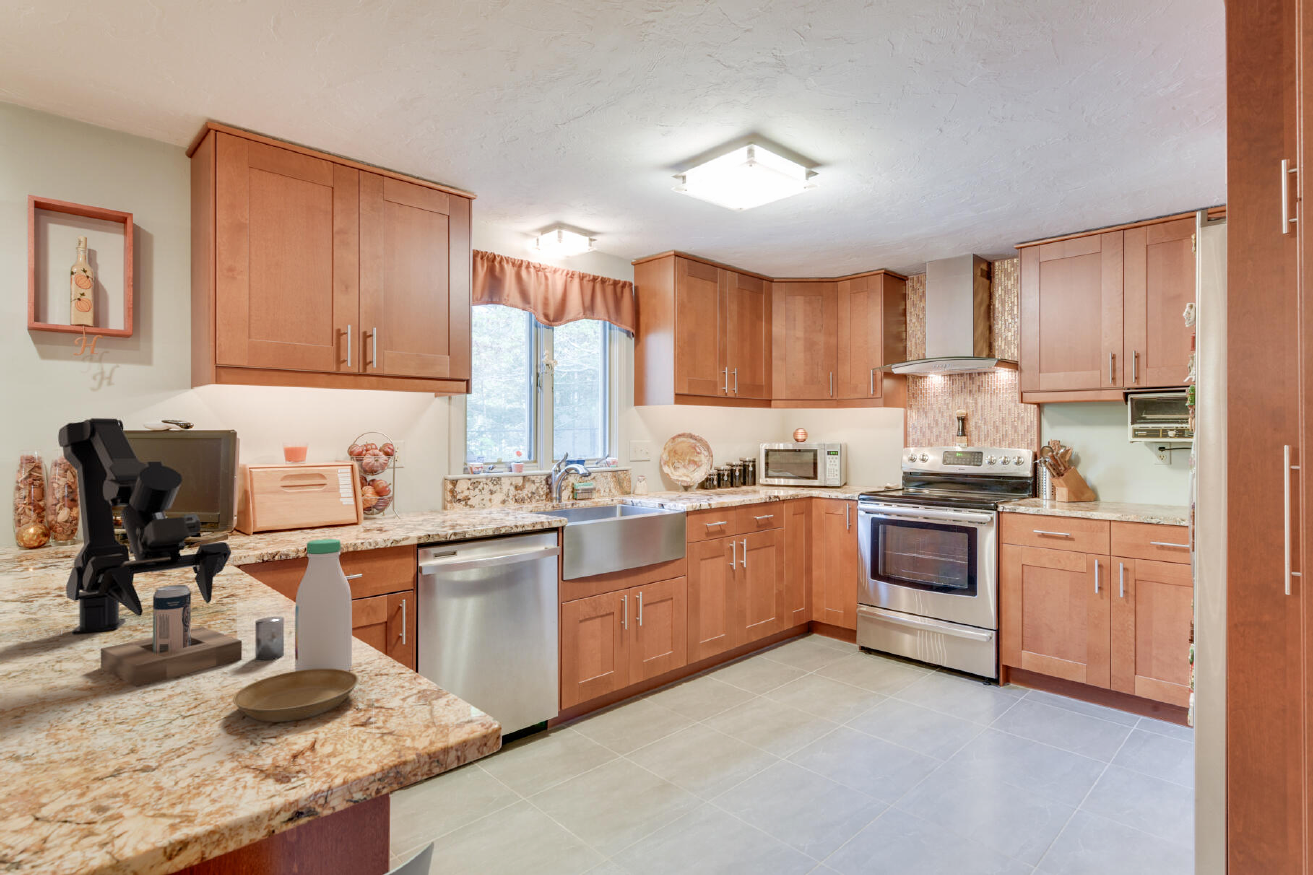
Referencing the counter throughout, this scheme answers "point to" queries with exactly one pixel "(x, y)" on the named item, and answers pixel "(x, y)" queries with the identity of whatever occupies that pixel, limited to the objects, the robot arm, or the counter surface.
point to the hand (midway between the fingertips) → (176, 607)
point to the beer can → (171, 618)
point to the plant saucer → (295, 694)
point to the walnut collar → (169, 657)
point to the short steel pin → (269, 638)
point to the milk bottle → (323, 611)
